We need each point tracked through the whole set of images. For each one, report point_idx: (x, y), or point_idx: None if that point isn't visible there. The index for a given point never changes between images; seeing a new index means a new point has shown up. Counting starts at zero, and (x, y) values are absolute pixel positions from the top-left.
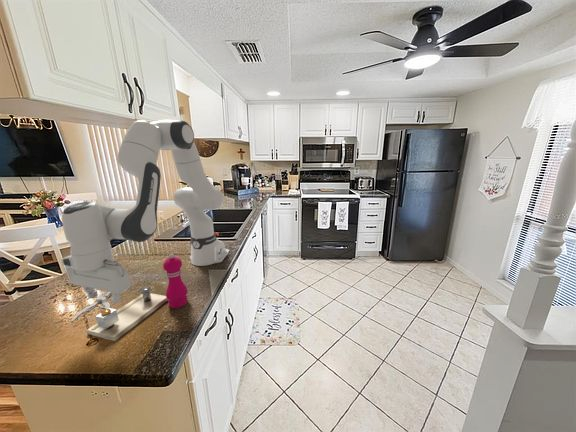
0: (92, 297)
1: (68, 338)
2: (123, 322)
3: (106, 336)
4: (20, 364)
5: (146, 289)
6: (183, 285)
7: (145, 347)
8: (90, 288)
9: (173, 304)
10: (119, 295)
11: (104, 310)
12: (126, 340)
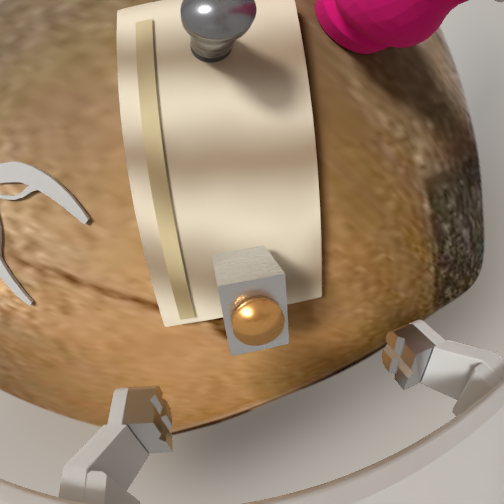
0: (171, 418)
1: (130, 351)
2: (273, 227)
3: None
4: None
5: (233, 10)
6: None
7: (420, 254)
8: (115, 463)
9: (380, 49)
10: (450, 346)
11: (241, 325)
12: (349, 265)
